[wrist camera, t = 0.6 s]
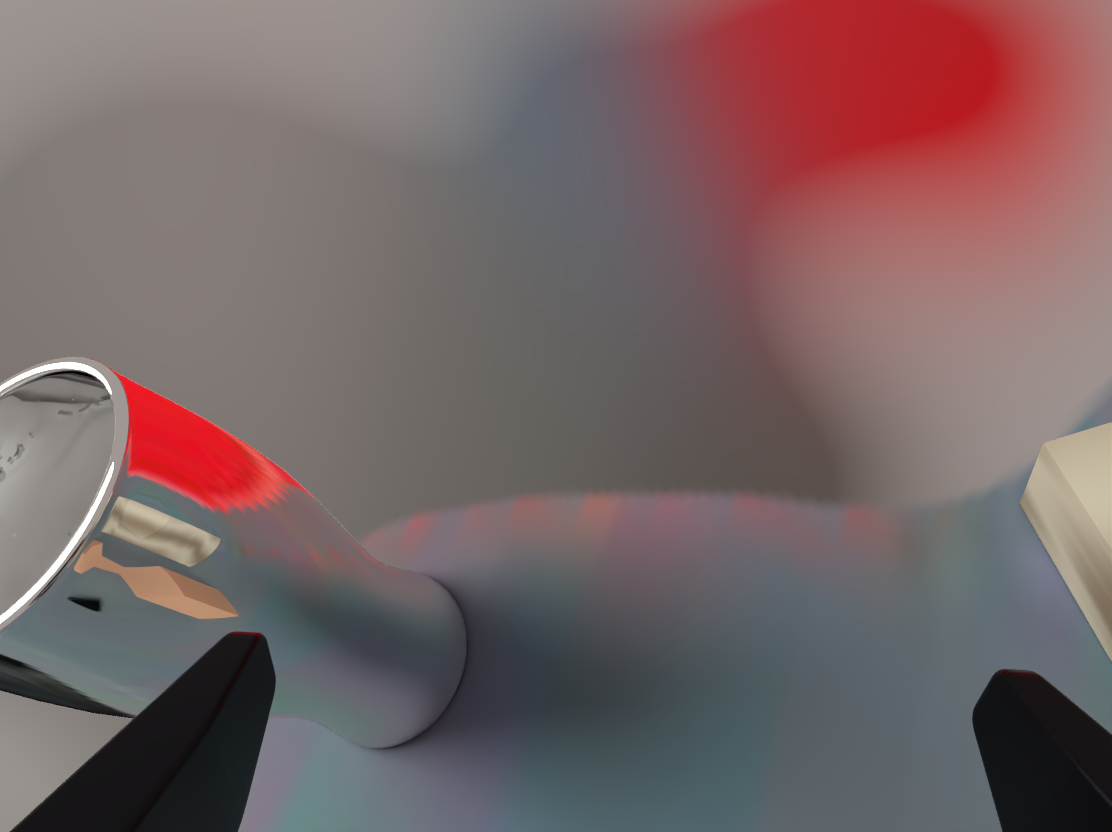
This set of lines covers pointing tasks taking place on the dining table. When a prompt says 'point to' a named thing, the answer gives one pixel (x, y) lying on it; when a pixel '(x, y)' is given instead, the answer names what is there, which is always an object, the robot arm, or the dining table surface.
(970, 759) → the dining table surface
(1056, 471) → the birch block
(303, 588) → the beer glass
